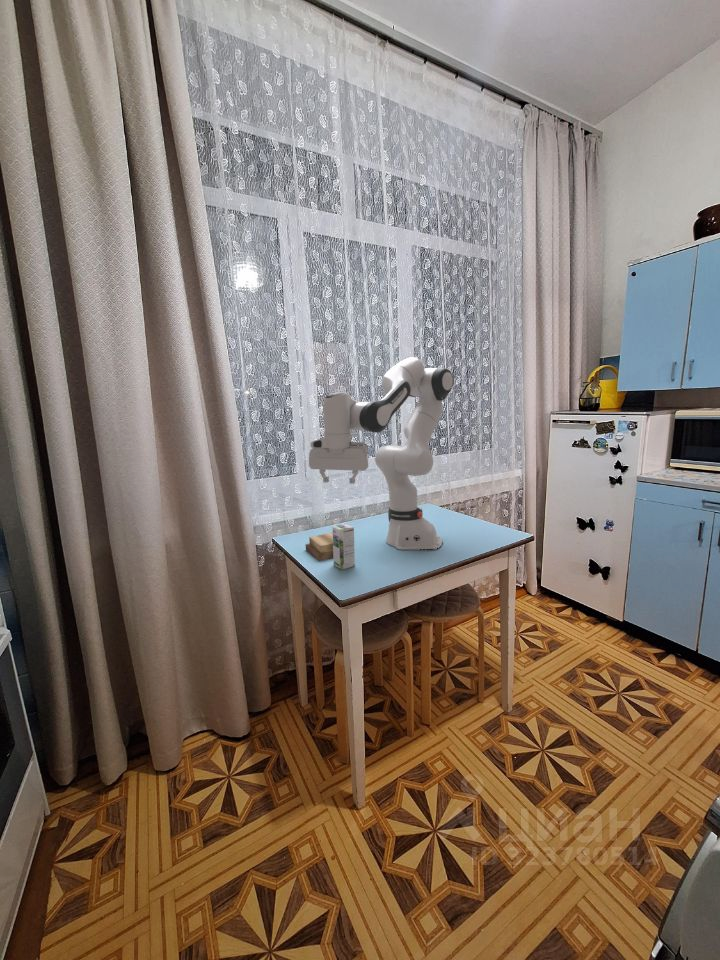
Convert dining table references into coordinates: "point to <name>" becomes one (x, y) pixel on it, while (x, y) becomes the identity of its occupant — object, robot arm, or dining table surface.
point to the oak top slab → (322, 542)
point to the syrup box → (343, 546)
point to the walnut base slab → (317, 554)
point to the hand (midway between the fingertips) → (339, 482)
